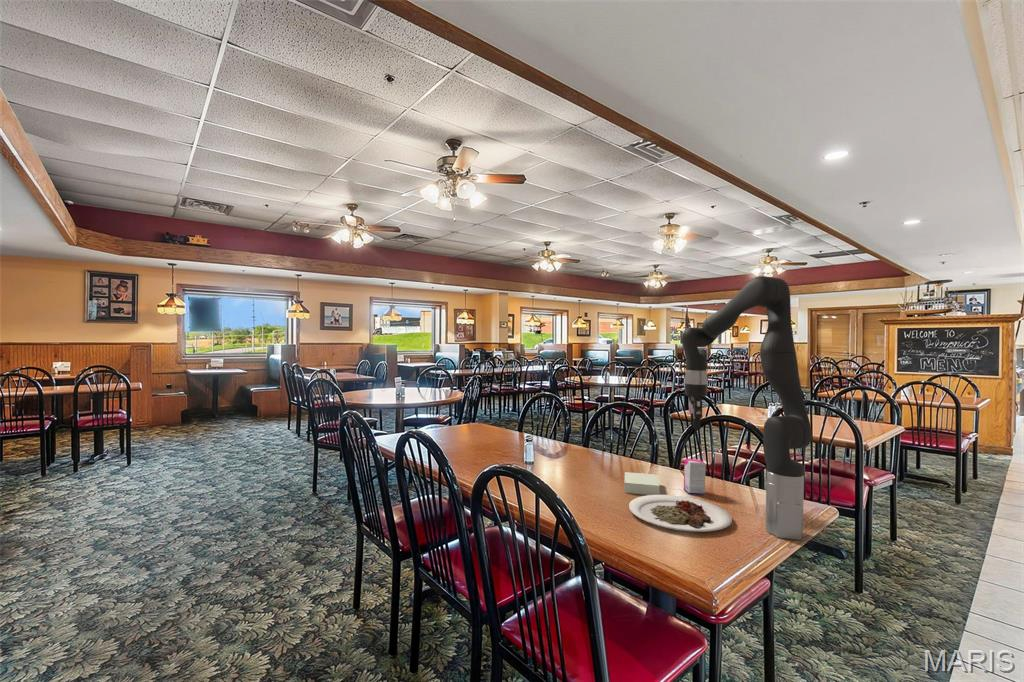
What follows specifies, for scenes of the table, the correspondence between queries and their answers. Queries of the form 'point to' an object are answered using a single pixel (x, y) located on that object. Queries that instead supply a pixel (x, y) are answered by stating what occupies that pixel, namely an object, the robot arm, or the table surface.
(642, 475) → the sage block
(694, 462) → the supplement box
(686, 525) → the plated food
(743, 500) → the table surface
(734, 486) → the table surface
